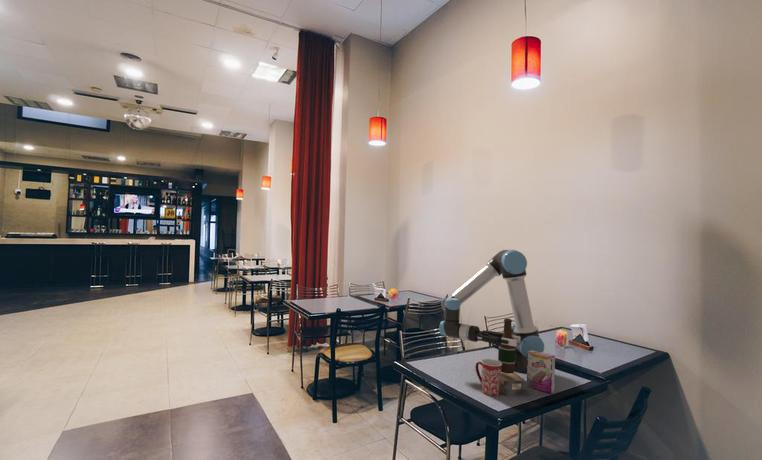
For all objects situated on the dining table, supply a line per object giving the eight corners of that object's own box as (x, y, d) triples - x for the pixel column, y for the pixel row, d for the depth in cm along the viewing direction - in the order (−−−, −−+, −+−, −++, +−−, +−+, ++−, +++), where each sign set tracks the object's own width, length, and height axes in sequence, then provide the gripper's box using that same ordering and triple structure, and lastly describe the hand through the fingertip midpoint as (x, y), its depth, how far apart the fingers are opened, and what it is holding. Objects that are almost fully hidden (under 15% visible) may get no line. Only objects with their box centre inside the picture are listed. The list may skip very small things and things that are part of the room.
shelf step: (514, 381, 171) (515, 368, 172) (532, 395, 156) (532, 381, 156) (489, 381, 170) (489, 368, 170) (504, 395, 154) (504, 381, 154)
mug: (505, 394, 156) (506, 363, 156) (492, 398, 150) (493, 366, 151) (482, 384, 166) (483, 355, 167) (469, 388, 161) (470, 358, 161)
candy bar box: (526, 387, 165) (526, 351, 165) (529, 384, 168) (530, 349, 169) (551, 394, 157) (552, 357, 158) (554, 391, 161) (555, 354, 162)
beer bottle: (518, 371, 164) (520, 319, 165) (509, 375, 159) (510, 321, 160) (503, 366, 170) (505, 316, 171) (494, 369, 165) (495, 318, 166)
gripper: (476, 336, 183) (522, 345, 171) (462, 344, 167) (512, 355, 154) (476, 322, 184) (523, 329, 171) (463, 328, 167) (513, 337, 154)
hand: (518, 341), depth 162 cm, fingers closed on beer bottle, 7 cm apart
